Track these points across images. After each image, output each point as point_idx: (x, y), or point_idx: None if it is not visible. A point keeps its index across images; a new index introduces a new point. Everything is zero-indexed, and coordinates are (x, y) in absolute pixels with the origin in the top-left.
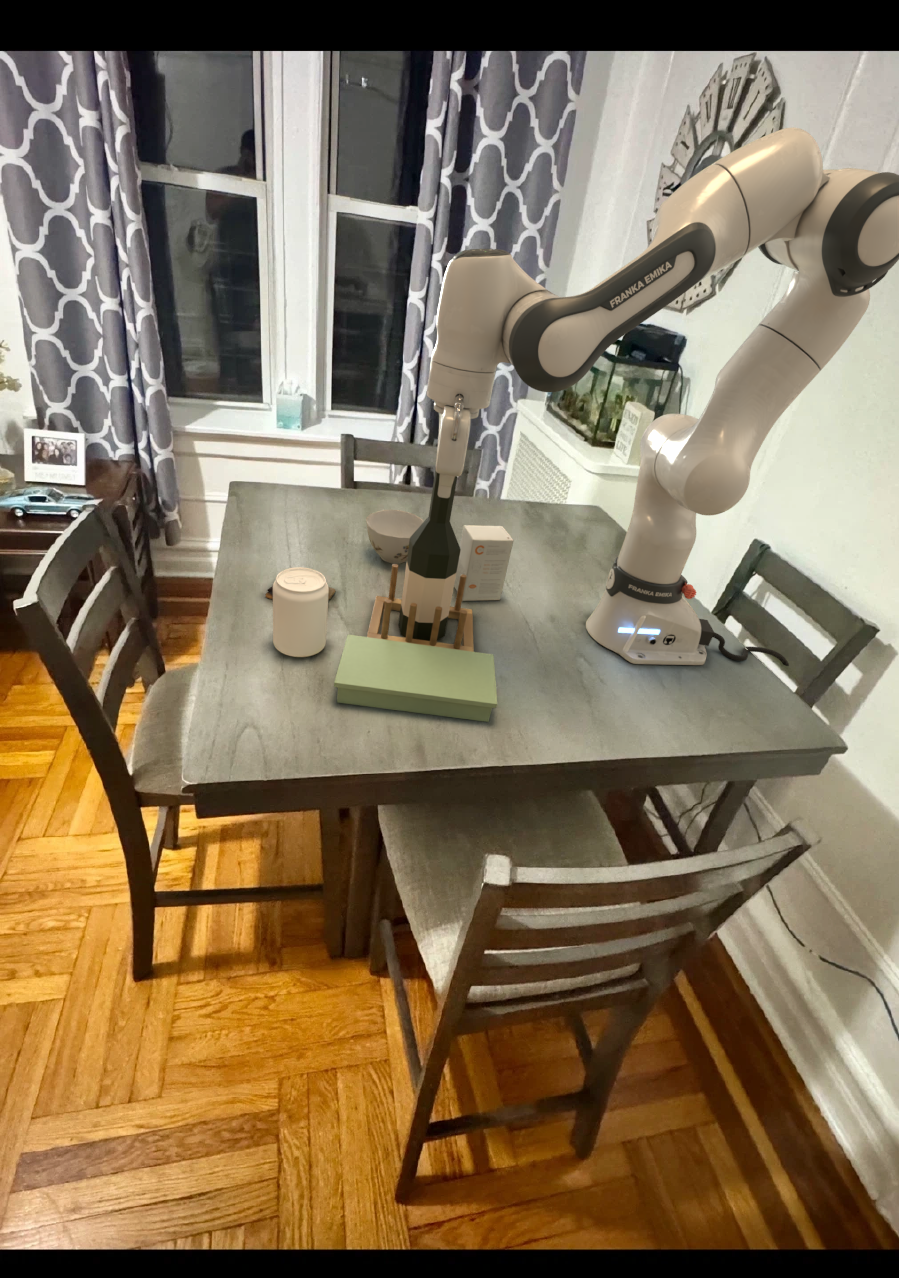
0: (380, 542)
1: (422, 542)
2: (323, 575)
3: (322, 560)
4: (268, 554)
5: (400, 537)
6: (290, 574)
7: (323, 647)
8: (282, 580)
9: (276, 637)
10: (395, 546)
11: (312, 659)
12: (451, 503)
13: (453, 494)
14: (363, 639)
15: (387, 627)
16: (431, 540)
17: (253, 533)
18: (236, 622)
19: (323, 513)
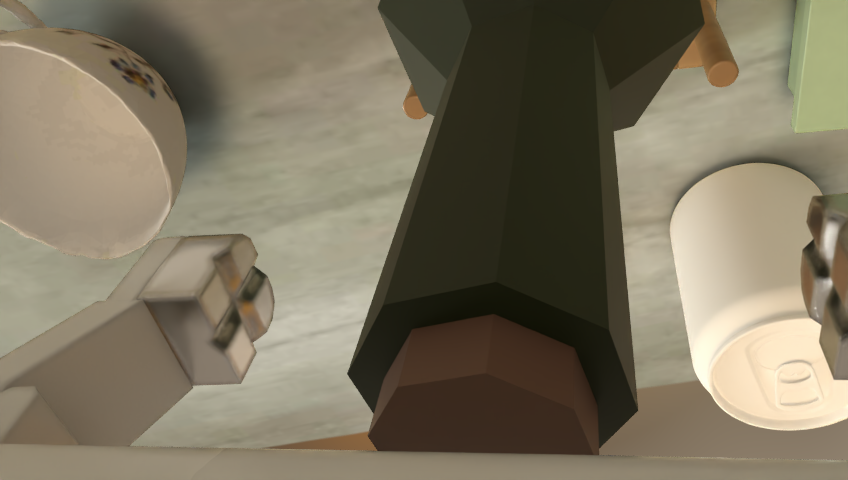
0: (182, 175)
1: (646, 95)
2: (750, 331)
3: (286, 267)
4: (337, 370)
5: (147, 130)
6: (756, 401)
7: (772, 165)
8: (803, 411)
9: None
10: (170, 124)
11: (812, 172)
12: (544, 78)
13: (534, 115)
14: (820, 79)
15: (715, 18)
16: (664, 55)
17: (265, 413)
18: (671, 354)
19: (47, 318)
